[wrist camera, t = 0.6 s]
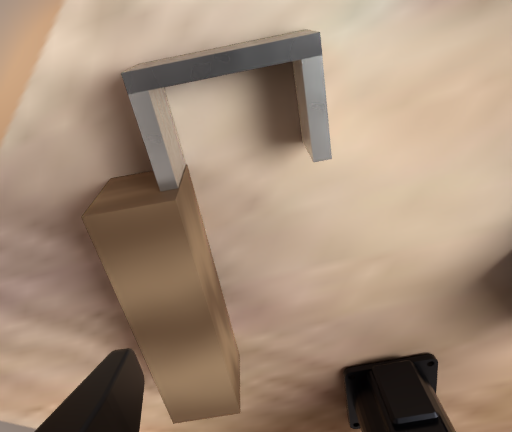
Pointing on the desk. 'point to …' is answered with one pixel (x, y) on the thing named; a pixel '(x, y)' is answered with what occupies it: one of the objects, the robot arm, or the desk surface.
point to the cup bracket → (217, 64)
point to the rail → (169, 292)
